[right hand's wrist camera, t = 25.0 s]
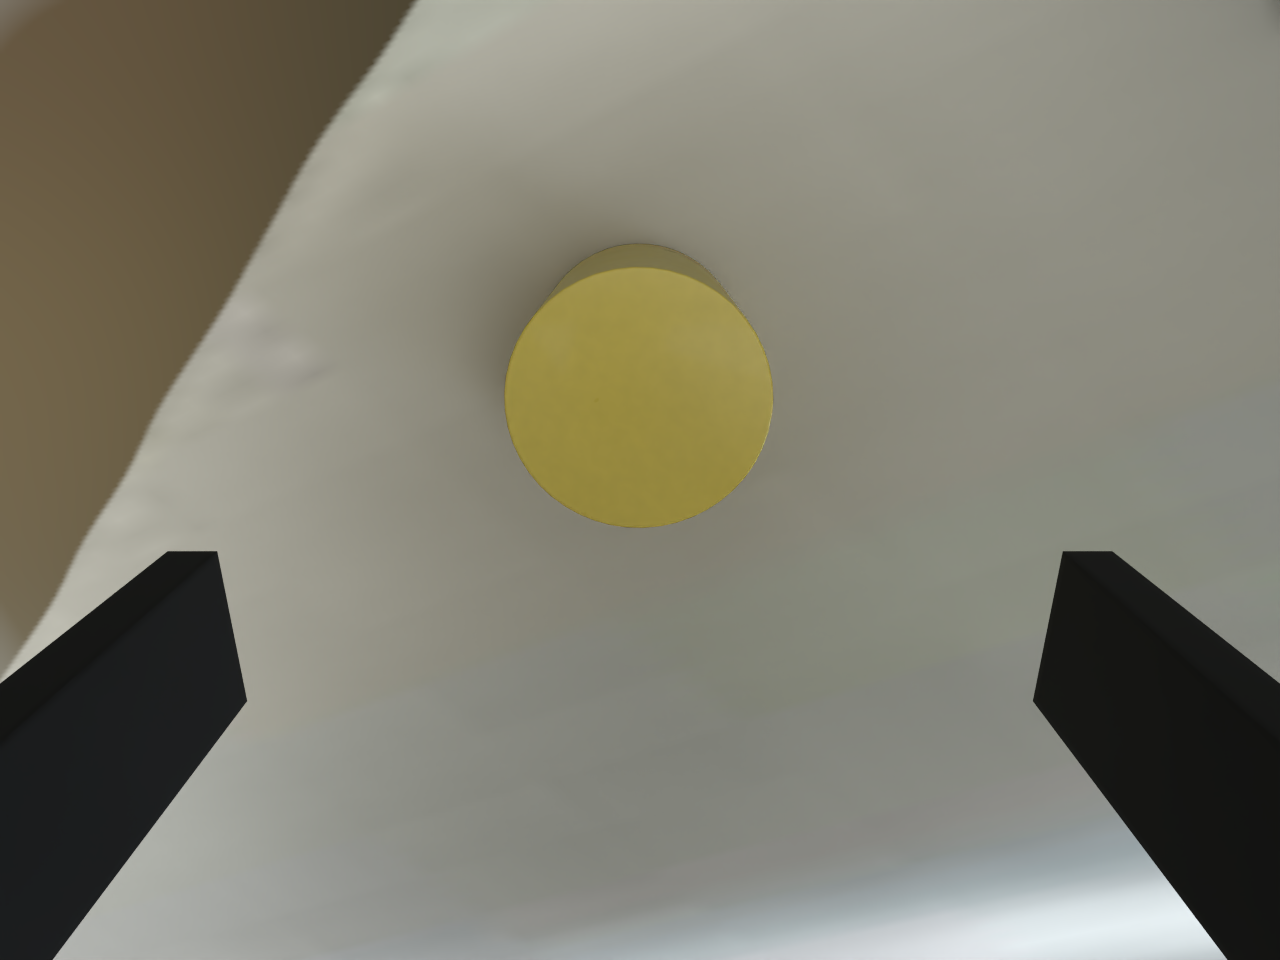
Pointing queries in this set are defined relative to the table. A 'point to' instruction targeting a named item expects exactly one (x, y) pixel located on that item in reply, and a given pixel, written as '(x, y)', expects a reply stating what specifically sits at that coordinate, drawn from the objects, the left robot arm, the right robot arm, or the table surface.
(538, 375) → the canister
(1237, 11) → the table surface
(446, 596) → the table surface
